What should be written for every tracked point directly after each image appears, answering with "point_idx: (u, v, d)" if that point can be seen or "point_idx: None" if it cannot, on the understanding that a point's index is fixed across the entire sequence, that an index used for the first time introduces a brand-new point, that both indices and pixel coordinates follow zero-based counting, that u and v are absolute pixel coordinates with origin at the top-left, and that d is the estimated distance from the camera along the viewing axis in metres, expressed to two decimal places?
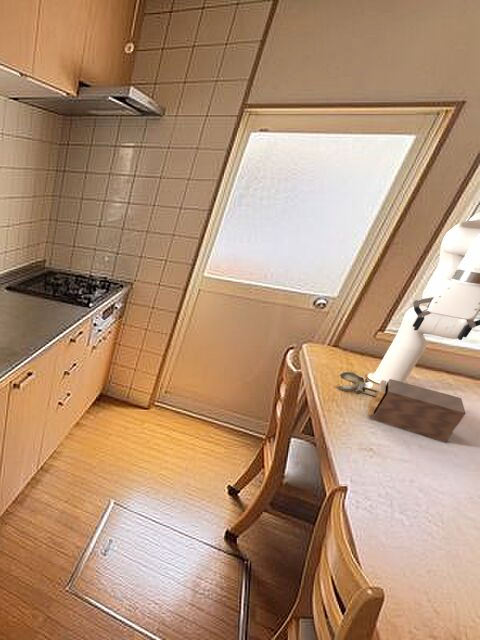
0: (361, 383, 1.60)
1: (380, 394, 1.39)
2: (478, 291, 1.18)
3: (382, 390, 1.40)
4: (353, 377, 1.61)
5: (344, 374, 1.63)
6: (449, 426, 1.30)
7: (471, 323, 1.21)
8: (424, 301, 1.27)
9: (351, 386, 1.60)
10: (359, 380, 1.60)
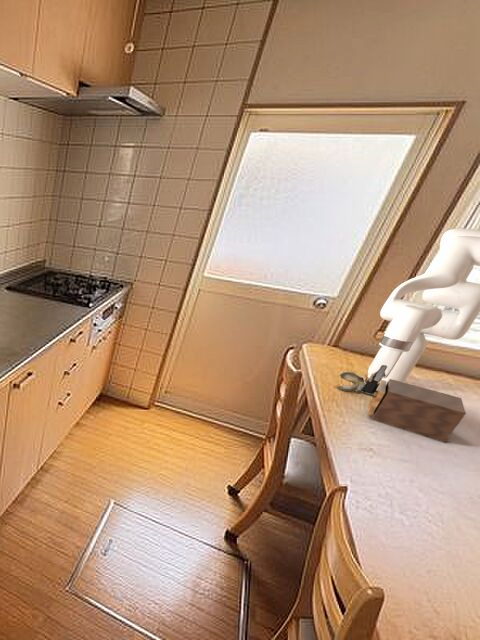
0: (361, 383, 1.60)
1: (380, 394, 1.39)
2: None
3: (382, 390, 1.40)
4: (353, 377, 1.61)
5: (344, 374, 1.63)
6: (449, 426, 1.30)
7: None
8: (382, 374, 1.39)
9: (351, 386, 1.60)
10: (359, 380, 1.60)
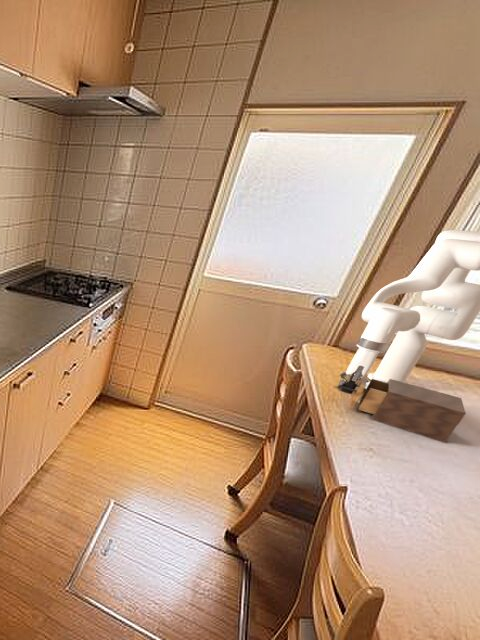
0: None
1: (360, 388, 1.42)
2: None
3: (362, 384, 1.43)
4: None
5: (344, 374, 1.63)
6: (449, 426, 1.30)
7: None
8: (359, 375, 1.44)
9: None
10: (359, 380, 1.60)
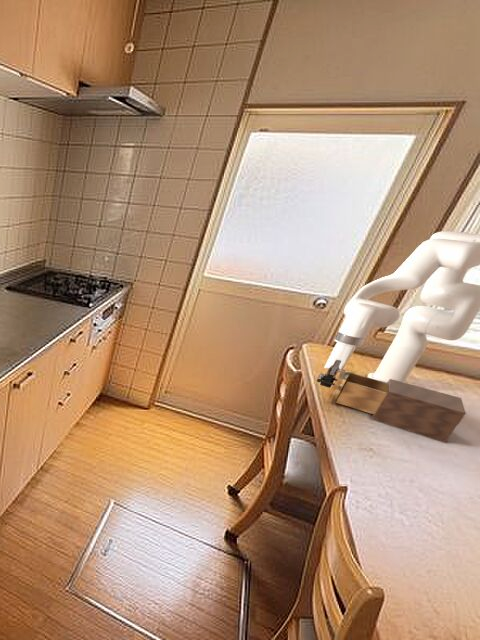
0: None
1: (338, 382, 1.46)
2: None
3: (340, 378, 1.47)
4: None
5: (344, 374, 1.63)
6: (449, 426, 1.30)
7: None
8: (336, 369, 1.47)
9: None
10: None
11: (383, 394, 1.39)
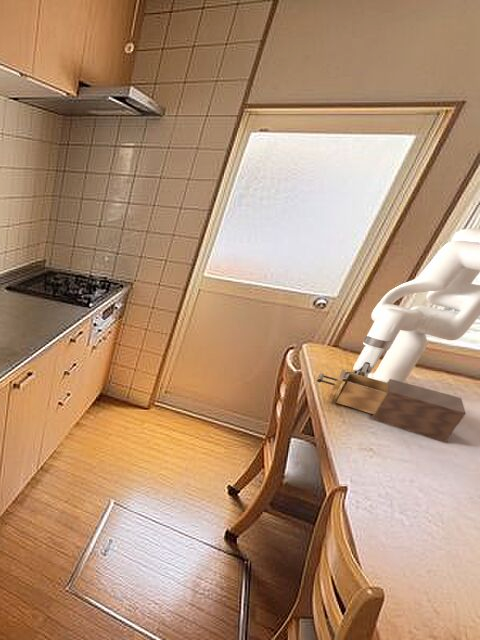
0: None
1: (338, 382, 1.46)
2: None
3: (340, 378, 1.47)
4: None
5: (345, 373, 1.65)
6: (449, 426, 1.30)
7: None
8: (366, 369, 1.53)
9: None
10: None
11: (383, 394, 1.39)
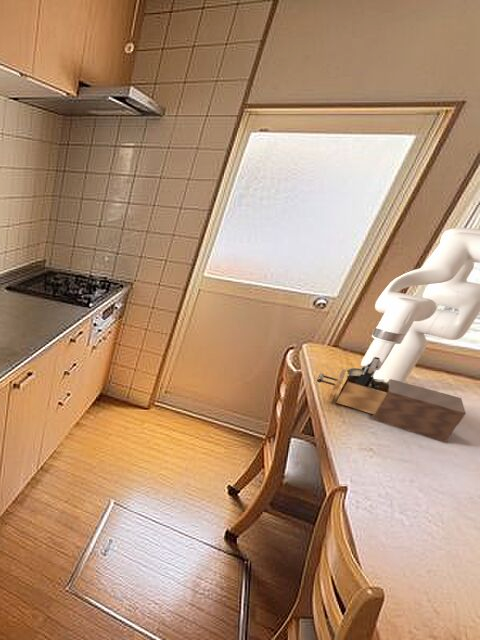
0: None
1: (338, 382, 1.46)
2: None
3: (340, 378, 1.47)
4: (362, 372, 1.48)
5: (352, 370, 1.50)
6: (449, 426, 1.30)
7: None
8: (376, 365, 1.38)
9: None
10: None
11: (383, 394, 1.39)
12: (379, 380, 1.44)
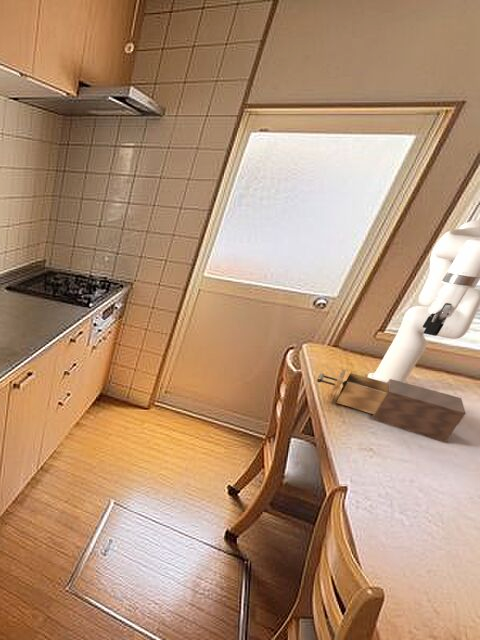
0: None
1: (338, 382, 1.46)
2: None
3: (340, 378, 1.47)
4: None
5: None
6: (449, 426, 1.30)
7: None
8: None
9: None
10: None
11: (383, 394, 1.39)
12: None
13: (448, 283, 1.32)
